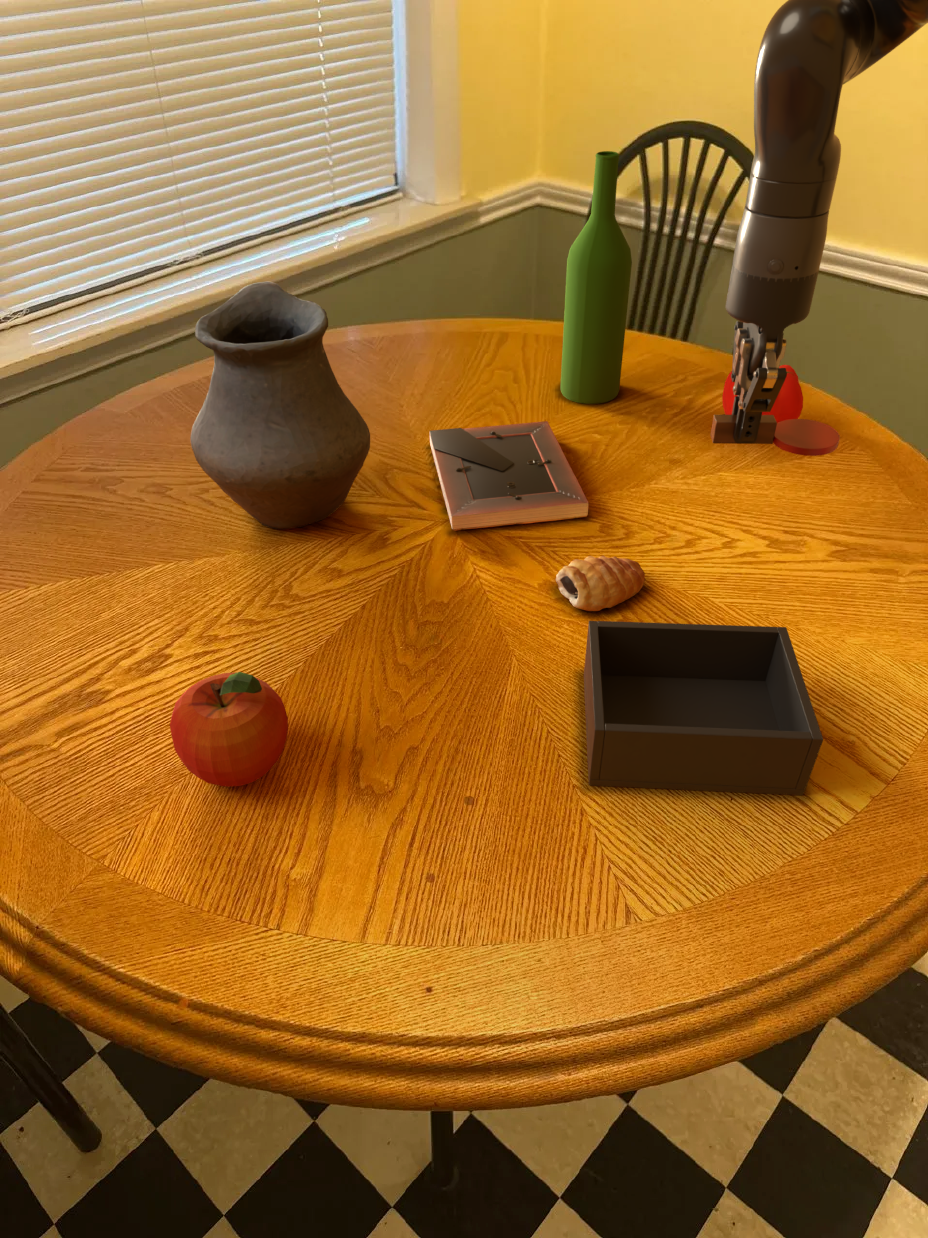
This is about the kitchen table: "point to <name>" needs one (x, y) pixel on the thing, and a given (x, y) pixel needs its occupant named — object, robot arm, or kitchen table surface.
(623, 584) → the pastry
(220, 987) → the kitchen table surface
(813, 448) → the paddle
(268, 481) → the grey clay vase
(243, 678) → the fruit
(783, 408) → the tomato
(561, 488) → the picture frame
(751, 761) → the bin
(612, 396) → the wine bottle
